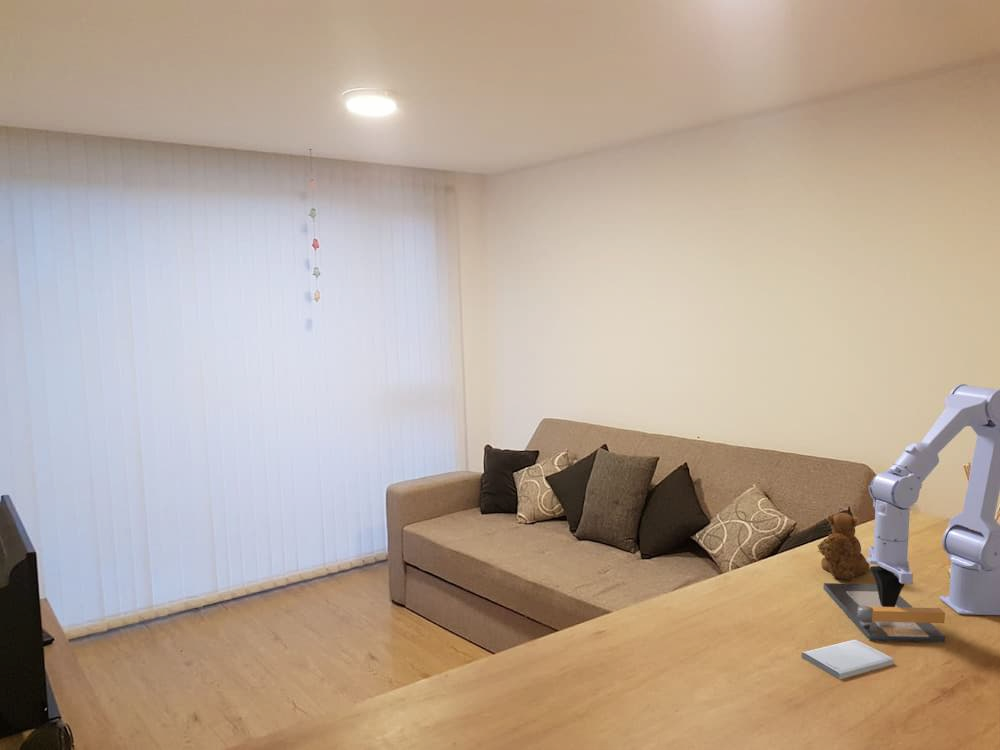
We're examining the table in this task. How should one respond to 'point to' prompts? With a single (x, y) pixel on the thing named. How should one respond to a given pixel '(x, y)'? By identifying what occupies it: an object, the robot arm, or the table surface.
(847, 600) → the psu panel
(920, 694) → the table surface
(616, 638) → the table surface
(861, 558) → the stuffed squirrel
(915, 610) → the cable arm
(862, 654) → the hard drive
